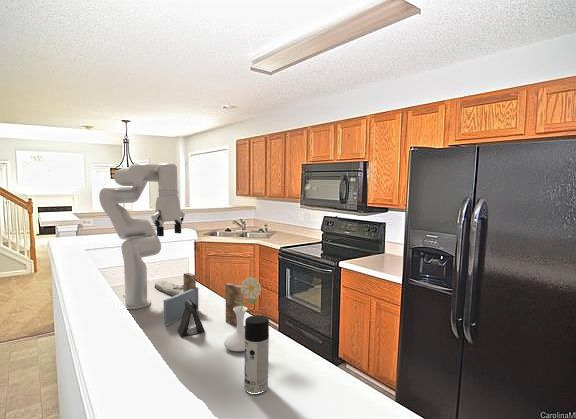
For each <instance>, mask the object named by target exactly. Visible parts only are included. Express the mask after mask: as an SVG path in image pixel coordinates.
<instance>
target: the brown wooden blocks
mask: <svg viewBox="0 0 576 419" xmlns="http://www.w3.org/2000/svg"><path fill="white" fill-rule="evenodd" d="M196 279H197V275H196V274H194V273H190V272H183V285H184V292H185V291H188V290H190V289H193V288H195V287H196V286H197V280H196ZM241 286H242V285H241V284H240V285H239V284H235V283H231V282H227V283H225V323H229V324H232V325H234V326H237V317H236V313H235V312H234V310H233V308H235V307H238V306H242V304H244V295H243V294H242V292H241ZM234 300H235V301H236V302H240V303H242V304H238V303H235V302H234Z"/></svg>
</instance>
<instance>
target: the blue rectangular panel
mask: <svg viewBox="0 0 576 419" xmlns="http://www.w3.org/2000/svg"><path fill="white" fill-rule="evenodd" d="M186 300H188V301H189V302H190V303H191V304H192V302H191V301H190V300H192V301H193V302H194V303H195V304H196V305H197V311H198V310H199V309H200V308H199V287H198V286H197V287H195V288H193V289H190V290H188V291H185V292H183V293H180V294H178V295H175V296H170V297H169V298H166V299H164V300H163V325H165V326H168V325H170V324H172V323H174V322H176V321H177V320H181V319H182V316H183V313H184V310H185V302H186Z"/></svg>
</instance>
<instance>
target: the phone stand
mask: <svg viewBox="0 0 576 419" xmlns="http://www.w3.org/2000/svg"><path fill="white" fill-rule="evenodd" d="M190 301H191V302H192V304H191V303H190V302H189V301H188V300H186V302H185V310H184V313H183V316H182V318H180V322H179V325H178V328H177V333H178V334H179V336H180V337H181V338H182V339H183V338H187V337H190V336H191V337H192V336H196V335H199V334H204V333H206V330H205V328H204V326H203V323H202V320H201V318H200V316H199V314H198V310H197V305H196V304H195V303H194V302H193V301H192V300H190ZM191 319H193V322H194V325H195V326H193V327H190V328H189V325H190V323H191V322H190V321H191Z"/></svg>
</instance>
